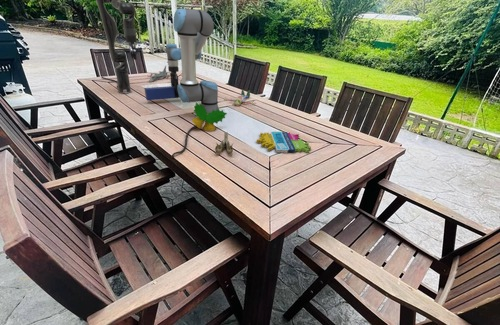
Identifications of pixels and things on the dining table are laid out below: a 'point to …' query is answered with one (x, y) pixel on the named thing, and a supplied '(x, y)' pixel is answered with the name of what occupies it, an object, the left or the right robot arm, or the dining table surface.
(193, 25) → the right robot arm
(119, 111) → the dining table surface
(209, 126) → the ornament
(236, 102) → the toy
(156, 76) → the airplane
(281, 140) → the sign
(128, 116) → the dining table surface
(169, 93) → the bar
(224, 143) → the jawbone
